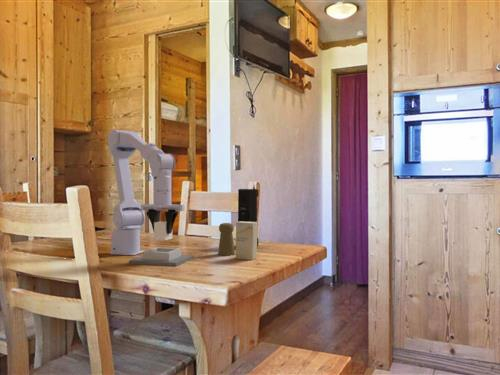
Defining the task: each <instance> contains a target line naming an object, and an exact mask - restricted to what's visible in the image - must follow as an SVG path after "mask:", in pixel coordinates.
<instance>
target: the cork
mask: <svg viewBox="0 0 500 375" xmlns="http://www.w3.org/2000/svg"><path fill="white" fill-rule="evenodd" d="M234 229H235V226H234V224H233V223H231V222H223V223H220V224H219V226H218V230H219V232H220V234H219V243H218V251H217V255H218V256H222V257H230V256H231V255H232V256H234V255H235V256H236V249H235V244H234V236H233V232H234Z"/></svg>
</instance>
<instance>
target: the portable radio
mask: <svg viewBox="0 0 500 375" xmlns="http://www.w3.org/2000/svg"><path fill="white" fill-rule="evenodd" d="M237 192H238V194H237V200H238V202H237V204H238V205H237V207H238V208H237V210H238V211H237V222H240V221H244V222H257V223H258V197H259V189H258V188H256V187H255V186H253V187H252V188H238V191H237ZM258 247H259V238H258V237H257V248H258Z"/></svg>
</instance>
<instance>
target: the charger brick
mask: <svg viewBox="0 0 500 375" xmlns="http://www.w3.org/2000/svg"><path fill="white" fill-rule="evenodd" d="M172 239H173V232H172V233H170V234H167V230H166V220H165V221H164V220H163V221H159V222H155V223H154V232H153V240H154V241H167V240H172Z"/></svg>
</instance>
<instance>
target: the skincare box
mask: <svg viewBox="0 0 500 375" xmlns="http://www.w3.org/2000/svg"><path fill="white" fill-rule="evenodd" d="M257 238H258V221H257V222H244V221H240V222H238V221H236V224H235V260H236V259H238V260H245V261H246V260H248V261H253V260H254V259H257V258H258V257H257V255H258V247H257Z"/></svg>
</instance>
